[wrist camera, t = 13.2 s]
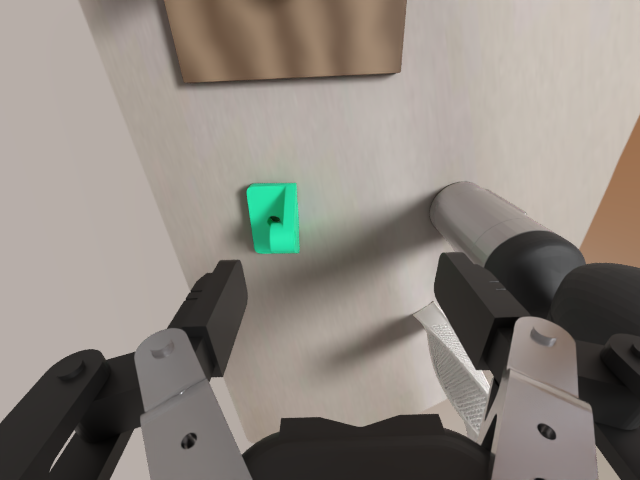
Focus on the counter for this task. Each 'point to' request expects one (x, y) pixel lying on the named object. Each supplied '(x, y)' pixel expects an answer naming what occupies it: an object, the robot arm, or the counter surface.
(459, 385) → the skyscraper
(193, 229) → the counter surface
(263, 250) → the camera mount
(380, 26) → the walnut base
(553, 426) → the robot arm
